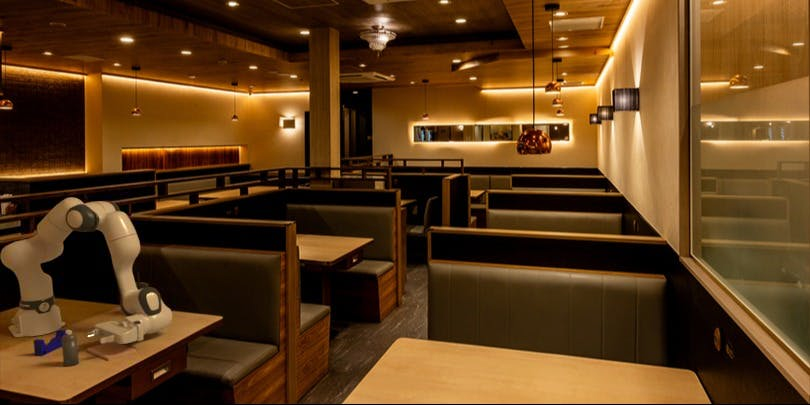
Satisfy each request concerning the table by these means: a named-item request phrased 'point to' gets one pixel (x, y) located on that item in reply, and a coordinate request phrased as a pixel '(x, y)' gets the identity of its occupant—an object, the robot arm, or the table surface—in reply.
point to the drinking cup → (140, 283)
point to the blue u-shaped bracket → (54, 344)
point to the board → (111, 350)
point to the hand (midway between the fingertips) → (93, 338)
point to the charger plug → (70, 349)
